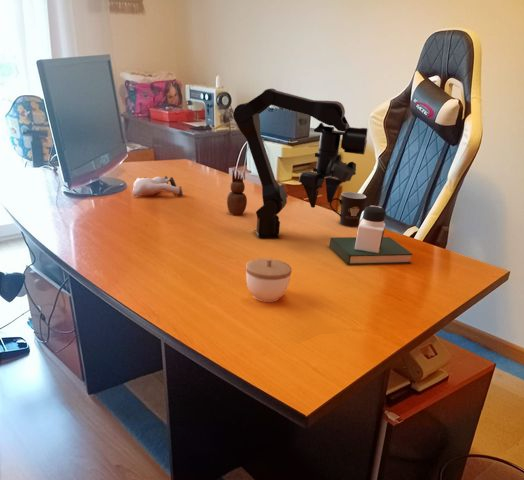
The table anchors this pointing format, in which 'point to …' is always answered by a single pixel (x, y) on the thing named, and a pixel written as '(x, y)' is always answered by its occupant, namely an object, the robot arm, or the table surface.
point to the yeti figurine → (155, 186)
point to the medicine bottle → (371, 230)
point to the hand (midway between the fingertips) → (321, 204)
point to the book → (387, 255)
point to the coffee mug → (350, 208)
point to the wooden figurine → (236, 196)
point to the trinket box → (267, 278)
